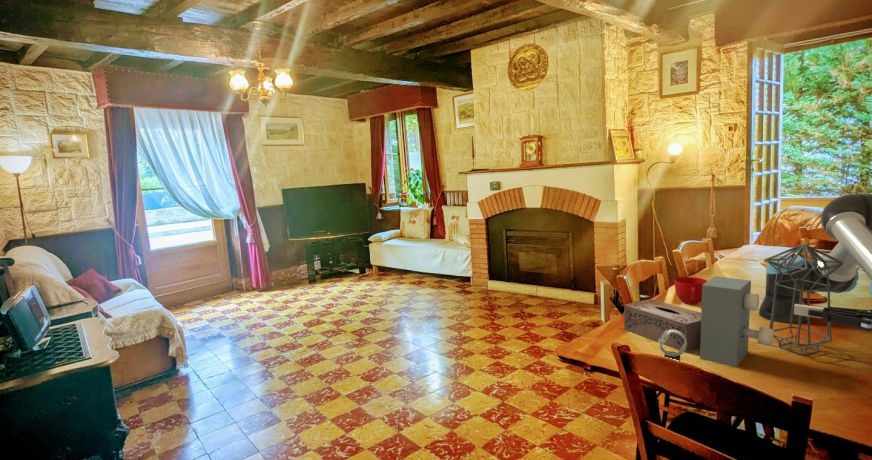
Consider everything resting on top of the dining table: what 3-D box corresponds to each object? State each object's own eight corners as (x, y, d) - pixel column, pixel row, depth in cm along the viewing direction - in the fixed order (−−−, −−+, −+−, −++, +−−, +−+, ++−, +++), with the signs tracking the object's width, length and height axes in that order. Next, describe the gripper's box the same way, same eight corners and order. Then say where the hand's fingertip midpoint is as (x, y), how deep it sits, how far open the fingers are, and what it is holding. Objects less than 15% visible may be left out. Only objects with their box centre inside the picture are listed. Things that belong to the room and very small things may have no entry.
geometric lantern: (841, 354, 148) (849, 245, 142) (804, 363, 143) (811, 251, 138) (791, 337, 163) (796, 237, 157) (756, 344, 158) (760, 243, 153)
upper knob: (758, 308, 144) (759, 292, 144) (754, 312, 141) (755, 296, 140) (725, 303, 151) (726, 288, 150) (720, 307, 147) (721, 291, 147)
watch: (658, 359, 150) (658, 326, 149) (686, 363, 146) (687, 329, 145) (656, 366, 145) (657, 331, 144) (686, 370, 142) (687, 335, 140)
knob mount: (747, 352, 152) (750, 280, 149) (736, 366, 142) (739, 289, 139) (713, 345, 159) (715, 276, 156) (699, 358, 149) (702, 285, 146)
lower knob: (773, 342, 143) (773, 326, 142) (769, 347, 139) (770, 331, 139) (738, 336, 149) (739, 321, 149) (734, 340, 146) (735, 325, 145)
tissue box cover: (624, 330, 177) (624, 304, 176) (651, 323, 183) (651, 298, 182) (685, 353, 154) (686, 324, 153) (714, 344, 160) (715, 316, 159)
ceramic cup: (676, 308, 199) (676, 285, 198) (672, 297, 215) (673, 276, 213) (711, 310, 194) (712, 287, 193) (705, 299, 210) (705, 277, 209)
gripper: (911, 305, 123) (799, 291, 140) (911, 318, 114) (791, 301, 131) (909, 333, 124) (797, 315, 141) (908, 347, 115) (789, 327, 132)
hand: (794, 309), depth 136 cm, fingers closed
